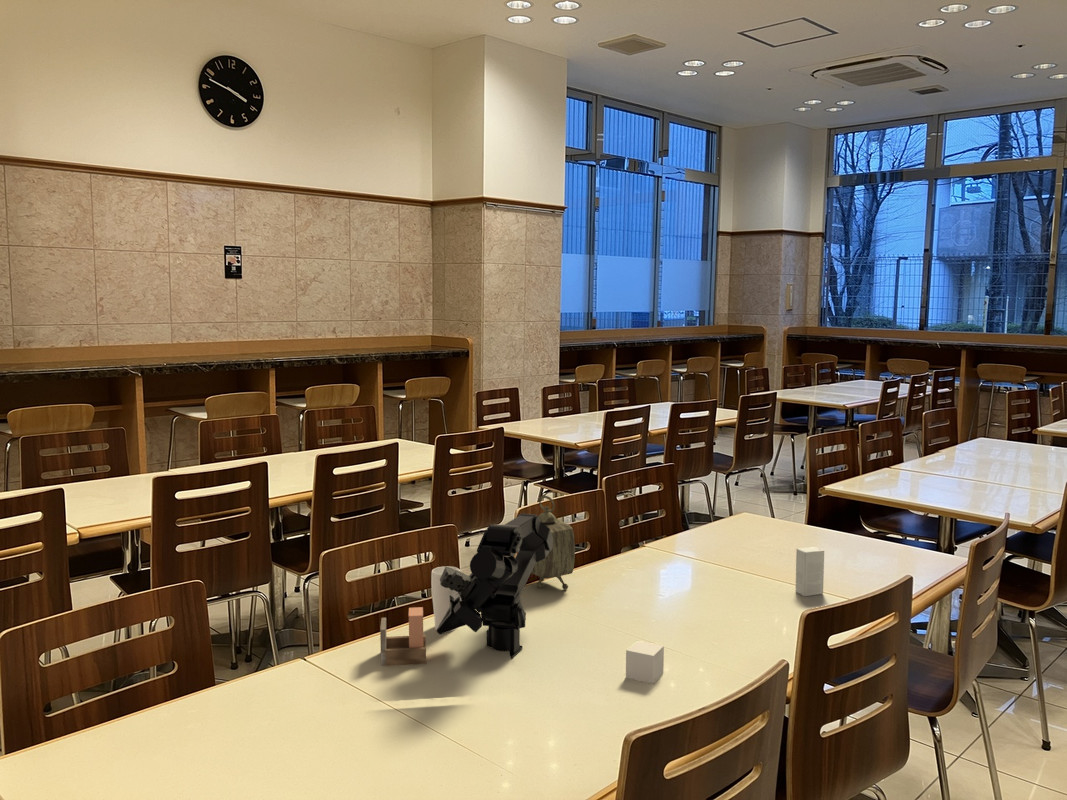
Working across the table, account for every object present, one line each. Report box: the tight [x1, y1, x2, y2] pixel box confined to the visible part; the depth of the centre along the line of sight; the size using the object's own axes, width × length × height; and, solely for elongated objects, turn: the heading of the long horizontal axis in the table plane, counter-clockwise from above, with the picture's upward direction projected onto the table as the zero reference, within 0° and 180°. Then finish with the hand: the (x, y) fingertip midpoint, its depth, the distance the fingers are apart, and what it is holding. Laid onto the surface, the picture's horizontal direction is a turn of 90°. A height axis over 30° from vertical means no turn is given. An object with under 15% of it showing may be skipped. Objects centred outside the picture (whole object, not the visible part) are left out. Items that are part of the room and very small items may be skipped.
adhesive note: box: [625, 640, 665, 684], centre depth 182 cm, size 6×6×6 cm
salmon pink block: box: [408, 606, 424, 648], centre depth 187 cm, size 3×5×10 cm, turn 8°
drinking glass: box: [430, 565, 461, 633], centre depth 204 cm, size 7×7×15 cm
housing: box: [379, 617, 427, 667], centre depth 187 cm, size 10×8×9 cm
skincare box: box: [795, 546, 825, 597], centre depth 233 cm, size 6×4×12 cm
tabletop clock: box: [531, 495, 576, 591], centre depth 237 cm, size 14×9×25 cm, turn 34°
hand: (437, 632), depth 188 cm, fingers closed
